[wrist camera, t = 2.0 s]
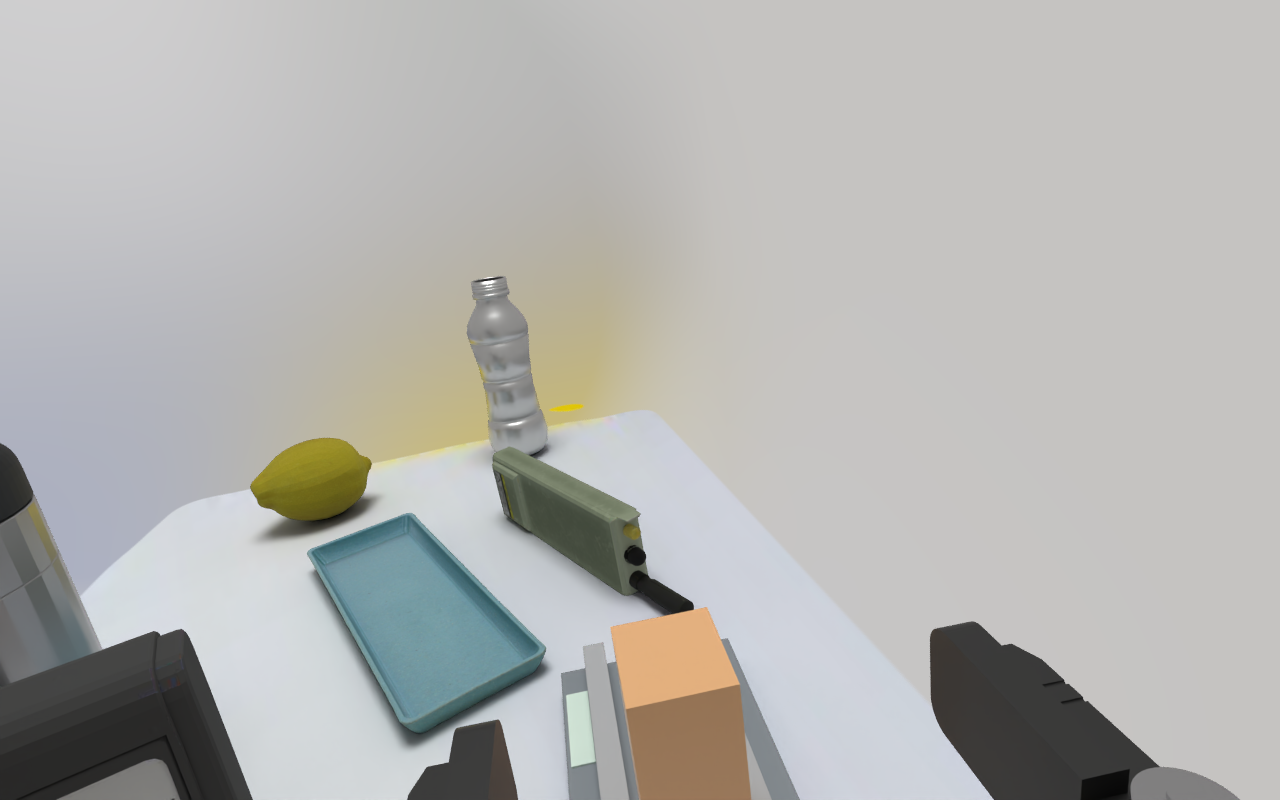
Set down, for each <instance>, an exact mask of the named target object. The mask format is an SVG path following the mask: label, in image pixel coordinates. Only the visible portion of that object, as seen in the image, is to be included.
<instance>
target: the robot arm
mask: <svg viewBox="0 0 1280 800" xmlns="http://www.w3.org/2000/svg"><path fill="white" fill-rule="evenodd" d="M101 650H103V649H102V647H101V644H100V642H99V640H98V638H97V635H96V633H95V631H94V628H93V626H92V624H91V622H90V619H89V617H88V615H87V613H86V610H85V608H84V606H83V603H82V601H81V599H80V597H79V594H78V592H77V590H76V588H75V585H74V583H73V581H72V578H71V576H70V574H69V572H68V569H67V567H66V565H65V563H64V560H63V558H62V556H61V553H60V551H59V549H58V547H57V545H56V542H55V540H54V538H53V535H52V533H51V531H50V529H49V526H48V525H47V522H46V519H45V517H44V515H43V513H42V511H41V508H40V506H39V504H38V501H37V499H36V497H35V495H34V494H33V490H32V488H31V486H30V484H29V481H28V479H27V477H26V475H25V472H24V470H23V468H22V466H21V464H20V462H19V460H18V458H17V457H16V456H15V454H14V453H13V452H12V451H11V450H10V449H9V448H7V447H6V446H4V445H2V444H0V687H2V686H5V685H7V684H10V683H13V682H16V681H18V680H21V679H24V678H27V677H29V676H32V675H35V674H37V673H40V672H43V671H46V670H48V669H51V668H54V667H57V666H59V665H62V664H65V663H68V662H70V661H73V660H76V659H79V658H81V657H84V656H87V655H90V654H92V653H95V652H98V651H101ZM930 670H931V702H932V707H933V710H934V714H935V716H936V719H937V721H938V724H939V726H940V728H941V729H942V731H943V733H944V734H945V736H946V737H947V738H948V740H949V741H950V742H951V744H952V745H953V746H954V748H955V749H956V750H957V752H958V753H959V754H960V756H961V757H962V758H963V759H964V761H965V762H966V763H967V765H968V766H969V767H970V769H971V770H972V771H973V773H974V774H975V775H976V777H977V778H978V779H979V781H980V782H981V783H982V785H983V786H984V787H985V788H986V790H987V791H988V792H989V794H990V795H991V796H992V798H993V799H994V800H1240V799H1238V798H1237V797H1236V796H1235V795H1234V794H1232V793H1231V792H1230V791H1228V790H1227V789H1226V788H1224V787H1223V786H1221V785H1219V784H1218V783H1216V782H1214V781H1212V780H1210V779H1208V778H1206V777H1203V776H1201V775H1198V774H1196V773H1192V772H1189V771H1186V770H1182V769H1177V768H1169V767H1159V766H1158V765H1157V764H1156V763H1155V762H1154V761H1153V760H1152V759H1151V758H1149V757H1148V756H1147V755H1146V754H1145V753H1144V752H1143V751H1142V750H1141V749H1140V748H1138V747H1137V746H1136V745H1135V744H1134V743H1133V742H1132V741H1131V740H1130V739H1128V738H1127V737H1126V736H1125V735H1124V734H1123V733H1122V732H1121V731H1120V730H1119V729H1118V728H1116V727H1115V726H1114V725H1113V724H1112V723H1111V722H1110V721H1109V720H1108V719H1107V718H1105V717H1104V716H1103V715H1102V714H1101V713H1100V712H1099V711H1098V710H1096V709H1095V707H1093V706H1092V705H1091V704H1090V703H1089V702H1088V701H1087V702H1085V701H1084V700H1083V697H1082V696H1081V695H1080V694H1079V693H1078V692H1077V691H1076V690H1075V689H1074V688H1073V687H1071V686H1070V685H1069V684H1065V682H1064V679H1063V678H1061V677H1060V676H1059V675H1058V674H1057V673H1056V672H1055V671H1054V670H1053V669H1052V668H1051V667H1049V666H1048V665H1047V664H1046V663H1045V662H1044V661H1043V660H1042V659H1040V658H1038V657H1036V656H1034V655H1032V654H1030V653H1028V652H1026V651H1024V650H1022V649H1021V648H1019V647H1017V646H1015V645H1013V644H1008V645H1003V646H1001V645H1000V644H999V643H998V642H997V641H996V640H995V639H994V638H993V637H992V636H991V635H990V634H989V633H988V632H987V631H986V630H985V629H984V628H983V627H982V626H980V625H979V624H978V623H976V622H966V623H962V624H957V625H952V626H947V627H942V628H937V629H934V630H933V631H932V633H931V636H930ZM407 800H518V796H517V790H516V785H515V781H514V777H513V772H512V768H511V764H510V759H509V755H508V751H507V746H506V742H505V738H504V733H503V729H502V726H501V723H500V721H499V720H493V721H489V722H484V723H479V724H474V725H469V726H464V727H459V728H456V730H455V732H454V736H453V742H452V747H451V753H450V759H449V763H444V764H439V765H434V766H430V767H427V768H426V769H425V771H424V772H423V774H422V775H421V777H420V778H419V780H418V781H417V783H416V784H415V786H414V787H413V789H412V790H411V792H410V793H409V795H408V799H407Z"/></svg>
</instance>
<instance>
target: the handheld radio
mask: <svg viewBox="0 0 1280 800" xmlns="http://www.w3.org/2000/svg"><path fill="white" fill-rule="evenodd" d="M492 466H493V472H494V475H495V479H496V483H497V487H498V491H499V495H500V499H501V503H502V507H503V511H504V514H505V515H506V516H508V517H509V518H511V519H512V520H513V521H515V522H516V523H518V524H519V525H521V526H522V527H524V528H525V529H527V530H528V531H530V532H531V533H532V534H534V535H535V536H537V537H538V538H540V539H541V540H543V541H544V542H546V543H547V544H549V545H550V546H552V547H553V548H554V549H556V550H557V551H559V552H560V553H562V554H563V555H565V556H566V557H568V558H569V559H571V560H572V561H574V562H575V563H577V564H578V565H579V566H581V567H582V568H584V569H585V570H587V571H588V572H590V573H591V574H593V575H594V576H596V577H597V578H599V579H600V580H601V581H603V582H604V583H606V584H607V585H609V586H610V587H612V588H613V589H615V590H616V591H618V592H619V593H621V594H622V595H626V596H629V595H632V594H634V593H635V592H637V591H639V592H643V593H644V594H645V595H646V596H647V597H649V598H650V599H652V600H653V601H655V602H656V603H658V604H659V605H661V606H662V607H664V608H665V609H667V610H668V611H670V612H671V613H673V614H676V613H681V612H686V611H691V610H694V605H693V603H692V602H691V601H689V600H688V599H686V598H684V597H683V596H681V595H679V594H678V593H676V592H674V591H673V590H671V589H670V588H668V587H666V586H665V585H663V584H661V583H660V582H658V581H657V580H655V579H651V578H650V577H649V576H648V572H647V567H646V561H645V560H646V554H645V552H644V550H643V545H642V539H641V531H640V528H639V523H638V517H639V516H640V513H639V512H638V511H636V508H634V507H632V506H630V505H628V504H626V503H624V502H622V501H620V500H618V499H616V498H614V497H612V496H610V495H608V494H606V493H604V492H602V491H600V490H598V489H596V488H594V487H592V486H590V485H588V484H586V483H584V482H581V481H579V480H577V479H575V478H573V477H571V476H569V475H567V474H565V473H563V472H561V471H559V470H557V469H555V468H553V467H551V466H549V465H547V464H545V463H543V462H541V461H539V460H537V459H535V458H533V457H531V456H529V455H527V454H525V453H523V452H521V451H519V450H517V449H515V448H513V447H510V446H509V447H507V448H505V449H502V450H500V451H498V452H496V453H494V455H493V464H492Z"/></svg>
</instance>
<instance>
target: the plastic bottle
mask: <svg viewBox="0 0 1280 800" xmlns="http://www.w3.org/2000/svg"><path fill="white" fill-rule="evenodd" d="M471 285H472V291H473V295H472V297H473V299H474V300H476V307H475V309H474V311H473V313H472V315H471V317H470V320H469V323H468V326H467V335H468V339H469V342H470V343H471V344H470V345H471V348H472V350H473V353H474V355H475V358H476V361H477V364H478V367H479V370H480V374H481V377H482V380H483V385H484V389H485V394H486V402H487V409H488V417H489V420H488V431H489V440H490V442H491V445H492V447H493V449H494V451H495V452H498V451H500V450H502V449H505V448H507V447H509V446H510V447H513V448H515V449H517V450H519V451H521V452H523V453H525V454H527V455H531V454H534V453H536V452H538V451H540V450H541V449H543V448H544V446H545V444H546V441H547V438H548V436H547V424H546V421H545V418H544V415H543V413H542V411H541V409H540V406H539V402H538V399H537V395H536V391H535V388H534V385H533V379H532V374H531V365H530V358H529V339H528V325H527V322H526V320H525V318H524V316H523V315H522V313H521V312H520V311H519V310H518V309H517V308H516V307H515V306H514V305H513V304H512V303H511V302H510V301H509V300H508V297H507V295H508V294H509V289H508V287H507V281H506V277H505V276H497V277H490V278H483V279H478V280H475V281H472V282H471Z"/></svg>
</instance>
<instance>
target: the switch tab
mask: <svg viewBox="0 0 1280 800" xmlns="http://www.w3.org/2000/svg"><path fill="white" fill-rule="evenodd" d="M611 633H612V640H613V646H614V652H615V658H616V664H617V670H618V676H619V682H620V688H621V694H622V700H623V706H624V712H625V718H626V724H627V730H628V736H629V742H630V748H631V754H632V761H633V767H634V773H635V779H636V785H637V791H638V797H639V800H751V790H750V780H749V770H748V760H747V750H746V740H745V730H744V720H743V710H742V700H741V690H740V683H739V681H738V679H737V676H736V674H735V672H734V669H733V667H732V665H731V662H730V660H729V658H728V655H727V653H726V651H725V648H724V646H723V644H722V641H721V639H720V637H719V634H718V632H717V630H716V627H715V625H714V623H713V620H712V618H711V616H710V613H709V611H708V609H707V607H705V608H701V609H696V610H691V611H686V612H681V613H676V614H671V615H666V616H662V617H657V618H652V619H647V620H642V621H637V622H632V623H627V624H623V625H618V626H613V627H611Z"/></svg>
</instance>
